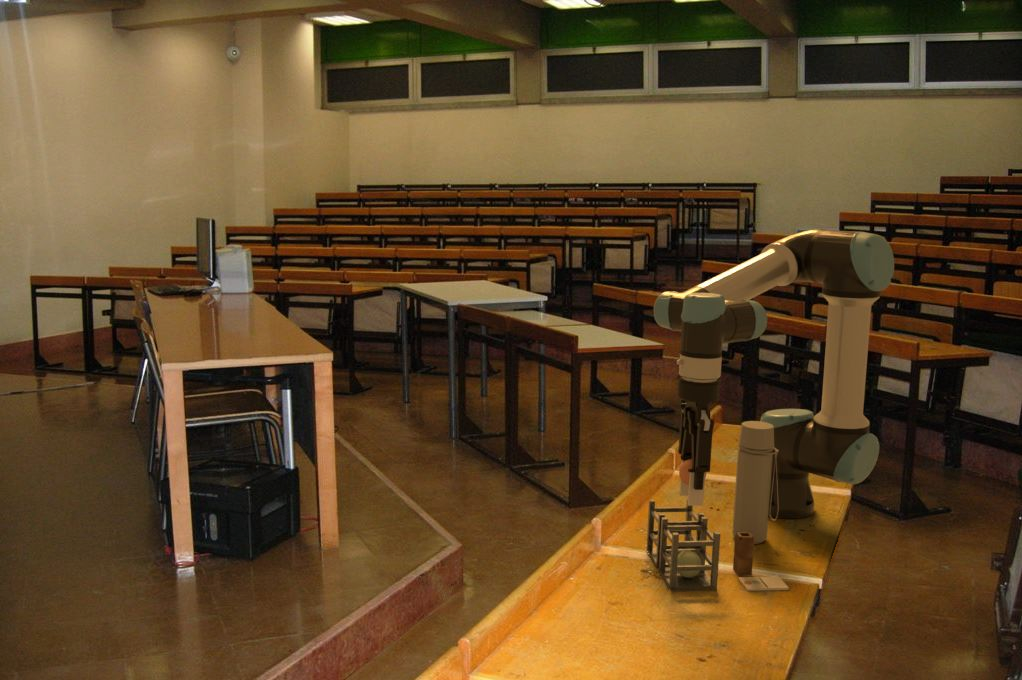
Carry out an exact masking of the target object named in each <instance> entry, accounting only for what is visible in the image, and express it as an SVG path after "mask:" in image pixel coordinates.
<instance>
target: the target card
mask: <svg viewBox="0 0 1022 680" xmlns="http://www.w3.org/2000/svg"><path fill="white" fill-rule="evenodd" d="M737 579H738V581H739V583H741V585H742V586H743V588H744V589H745V590H746V591H747V592H749V591H753V592H754V591H787V590H788V591H789V590H790V589H789V588H790V587H789V586H788V585H787V583H785V581H784V580H783V579H782V578H781V577H780V576H747V577H740V576H739V577H738V578H737Z"/></svg>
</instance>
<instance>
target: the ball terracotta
mask: <svg viewBox="0 0 1022 680" xmlns="http://www.w3.org/2000/svg"><path fill="white" fill-rule="evenodd" d="M688 469H692V459H689V460H686V461H685V462H683V463H682V465H681V464H680V466H679V469H678V474H679V477H680V478H681V480H682V481H683V482H684V483H685V484H686V485H689V476H690V472H688ZM706 478H707V472H705V479H706Z"/></svg>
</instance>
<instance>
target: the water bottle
mask: <svg viewBox="0 0 1022 680" xmlns="http://www.w3.org/2000/svg"><path fill="white" fill-rule="evenodd" d="M760 421H761V420H747V421H743V422H741V424H740V431H739V436H738V442H737V446H738V448H737V460H736V474H735V475H736V476H735V487H734V488H735V489H734V502H733V503H734V504H733V505H734V506H733V517H732V520H733V521H732V533H731V534H732V535H733V538H734V539H735V535H736V533H737V532H748V533H751V534H752V535H753V536H754V545H758V544H762V543H764V542H765V541H766V540H767V538H768V526H769V518H770V520H771V521H774V522H776V521H777V519H778V518H777V516H778V511H779V501H778V480H777V502H778V511H777V516H776V517H775V518H773V517H771V514H770V512H771V502H772V492H773V482H774V473H773V482H772V491H771V500H770V487H771V474H772V460H773V454H775V457H774V458H775V461H776V477H777V460H776V457H777V454H778V450H777V449H776V448H774V426H773V425H772V424H769V423H766V422H760ZM773 449H775V453H773V452H772V450H773ZM774 471H775V465H774ZM769 501H770V509H769ZM768 515H769V516H768Z"/></svg>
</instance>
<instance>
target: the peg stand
mask: <svg viewBox="0 0 1022 680" xmlns="http://www.w3.org/2000/svg"><path fill="white" fill-rule="evenodd" d="M754 547H755V544H754V536H753V535H752V534H751V533H748V532H737V533H736V535H735V538H734V548H733V560H732V561H733V563H732V569H733V570H734V572H735V573H736V575H738V576H740V575H742V576H743V575H744V576H745V575H750V576H751V575H753V564H754V563H753V560H754V549H755V548H754Z"/></svg>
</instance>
